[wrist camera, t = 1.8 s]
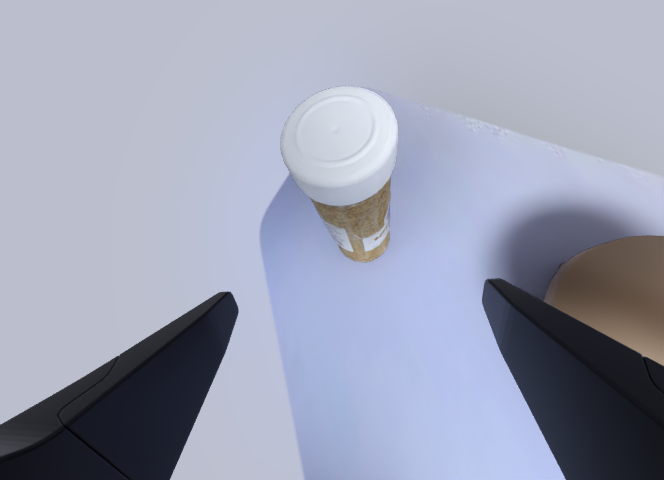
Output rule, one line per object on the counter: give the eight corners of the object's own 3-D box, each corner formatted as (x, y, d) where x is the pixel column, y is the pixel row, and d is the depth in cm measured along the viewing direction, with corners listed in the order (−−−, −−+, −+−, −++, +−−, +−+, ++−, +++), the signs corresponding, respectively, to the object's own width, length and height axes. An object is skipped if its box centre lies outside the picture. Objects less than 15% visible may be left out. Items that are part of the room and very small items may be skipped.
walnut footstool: (713, 473, 14) (835, 531, 10) (499, 372, 17) (532, 388, 13) (735, 290, 16) (844, 282, 12) (541, 231, 19) (579, 210, 15)
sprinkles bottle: (395, 256, 21) (414, 165, 8) (341, 267, 21) (282, 198, 9) (382, 207, 22) (382, 65, 10) (333, 219, 23) (271, 99, 10)
